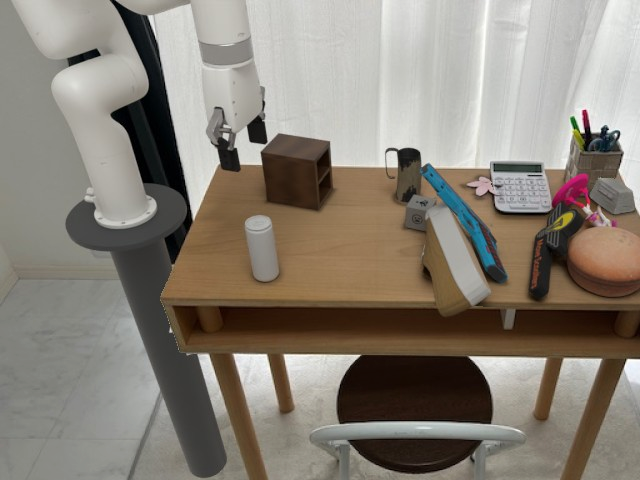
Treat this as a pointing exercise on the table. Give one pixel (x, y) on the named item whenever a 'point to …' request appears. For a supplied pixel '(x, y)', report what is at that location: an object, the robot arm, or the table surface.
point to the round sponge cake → (605, 261)
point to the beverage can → (262, 248)
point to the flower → (482, 186)
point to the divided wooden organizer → (297, 171)
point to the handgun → (468, 223)
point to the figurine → (569, 196)
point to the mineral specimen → (613, 195)
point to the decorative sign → (552, 245)
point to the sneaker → (451, 263)
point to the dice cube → (418, 211)
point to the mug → (407, 174)
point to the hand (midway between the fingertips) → (245, 156)
